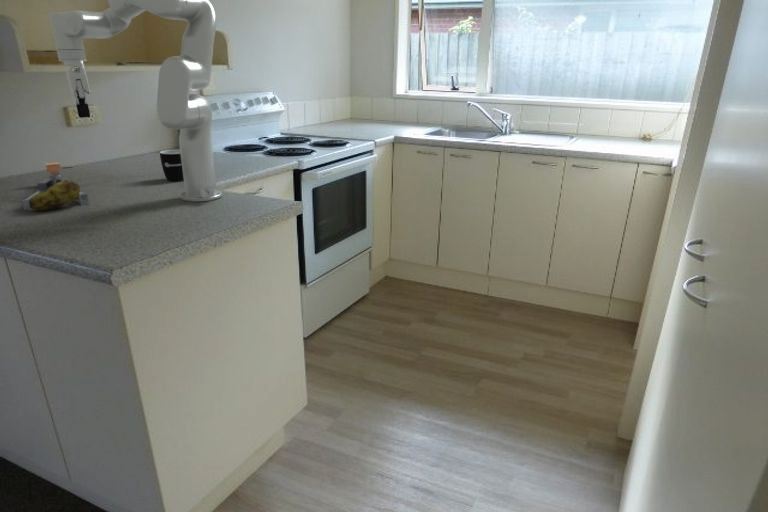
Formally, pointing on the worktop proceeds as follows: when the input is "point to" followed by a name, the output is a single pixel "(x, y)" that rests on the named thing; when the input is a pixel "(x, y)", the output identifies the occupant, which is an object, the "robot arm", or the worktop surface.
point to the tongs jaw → (82, 196)
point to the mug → (172, 165)
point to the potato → (55, 196)
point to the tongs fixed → (42, 188)
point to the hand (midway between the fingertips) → (84, 117)
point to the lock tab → (53, 167)
